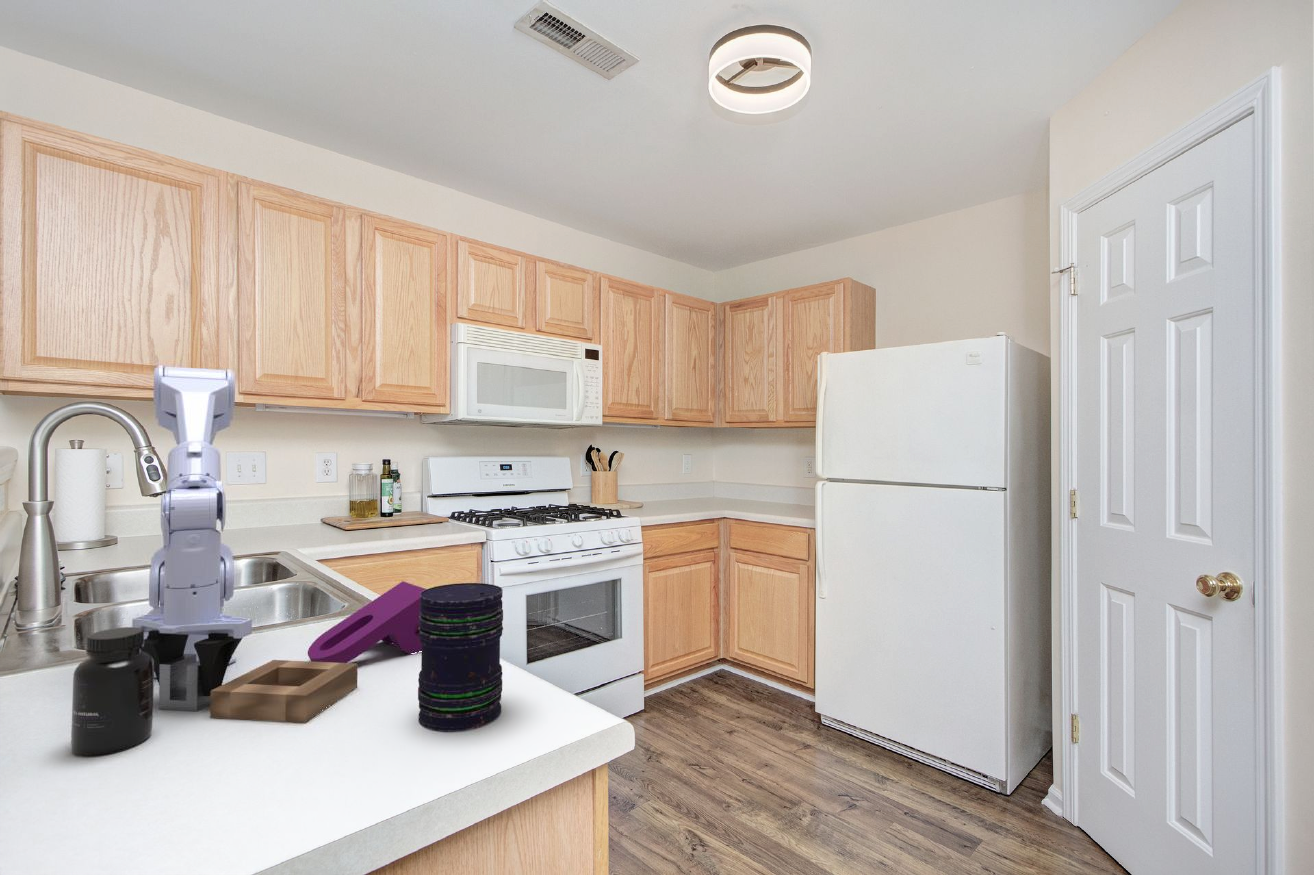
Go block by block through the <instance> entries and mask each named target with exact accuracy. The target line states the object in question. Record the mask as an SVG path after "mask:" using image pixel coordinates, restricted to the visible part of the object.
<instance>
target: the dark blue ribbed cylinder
mask: <svg viewBox="0 0 1314 875" xmlns="http://www.w3.org/2000/svg"><path fill="white" fill-rule="evenodd" d="M425 589H426V590H424V591H422V592H421V593H420V602H421V606H420V615H419V626H420V632H419V637H420V642H421V643H422V652H421V660H420V661H421V665H420V671H419V673H418V679H417V681H418V687H417V699H418V708H419V713H418V723H419V724H420V726H422V727H423V728H424V729H427V730H430V731H434V732H438V733H439V732H441V733H442V732H443V733H455V732H456V733H457V732H466V731H471V730H475V729H479V728H482V727H485V726H487V725H489V724H491V723H492V722H494V721H496V720H498V718H499V717H500V716H501V713H502V704H501V700H502V692H503V678H502V677H503V666H502V665H501V662H500V661H501V637H502V635H503V630H504V626H503V621H504V610H503V600H502V598H503V588H502V587H501V586H498V585H496V584H490V583H481V582H463V583H462V582H461V583H449V584H443V585H442V584H441V585H438V586H433V587H430V588H429V587H428V588H425Z"/></svg>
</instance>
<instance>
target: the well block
mask: <svg viewBox="0 0 1314 875" xmlns="http://www.w3.org/2000/svg"><path fill="white" fill-rule="evenodd" d="M358 666H359V664H358V663H354V662H353V663H352V662H347V663H333V662H311V660H310V661H309V660H307V661H306V660H288V659H284V660H283V659H272V660H270V661H268V662H267V663H265V664H262V665H260V666H258V667H256V668H254V669H252V670H250V671H248V672H245V673H244V674H241V675H240V676H238V677H236V678H234V679H231V680H230V681H228V682H226V683H224V684H223V683H222V685H221V686H219V687H217V688H215V689H213V690H211V700H210V705H209V706H210V707H209V708H210V710H209V711H210V716H209V718H211V719H228V720H229V719H231V720H247V721H264V722H268V721H269V722H283V723H297V724H298V723H299V724H300V723H302V724H306V723H307V722H309V721H311V720H312V719H313V718H315V717H316V716H318V715H319V714H321V713H322V712H323V711H322V710H324V709H325V708H326V707H328V706H329V705H331V704H332V703H334V702H335V703H337V702H338V701H339V699H340V700H341V699H342V697H343V698H344V697H345V696H347V695H348V694H349V692H350V693H352V692H353V691H354V690H356V689H357V688H358ZM355 688H356V689H355ZM352 690H353V691H352ZM346 694H347V695H346ZM337 700H338V701H337ZM336 701H337V702H336ZM335 703H334V704H335ZM332 705H333V704H332ZM332 705H331V706H332ZM329 707H330V706H329ZM329 707H328V708H329ZM326 709H327V708H326ZM326 709H325V710H326ZM325 710H324V711H325ZM320 712H321V713H320ZM318 713H319V714H318ZM317 714H318V715H317ZM314 716H315V717H314ZM311 718H312V719H311ZM308 720H309V721H308Z"/></svg>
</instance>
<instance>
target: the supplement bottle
mask: <svg viewBox="0 0 1314 875" xmlns="http://www.w3.org/2000/svg"><path fill="white" fill-rule="evenodd" d="M142 647H144V630H143V629H141V628H138V627H131V626H125V627H116V628H109V629H104V630H100V631H96V632H92V633H91V634H89V635H88V636H87V638H86V649H85V655H86V656H88V658H87V659H85V660H83V661H82V662H80V663H79V664H78V665H77V666H76V668H75V669H74V671H73V676H72V701H71V703H72V706H71V732H70V733H71V736H70V738H71V739H70V741H71V744H70V745H71V750H72V751H73V752H74V753H75V754H78V755H79V756H89V757H90V756H92V757H93V756H104V755H110V754H113V753H119V752H122V751H125V750H128V749H131V748H133V747H136V746H137V745H140V744H141V743H143V742H145V740H147V739H148V738H149V737H150V735H151V733H152V732H153V718H154V717H153V716H154V714H153V713H154V686H155V685H154V684H155V682H154V681H155V677H154V659H153V657H152V656H151V655H150V654H149V653H147V652H145V651H142V650H141V648H142Z"/></svg>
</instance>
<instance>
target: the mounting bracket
mask: <svg viewBox="0 0 1314 875" xmlns="http://www.w3.org/2000/svg"><path fill="white" fill-rule="evenodd" d="M426 589H427V588H424V587H422V586H419V585H415V584H414V583H413V584H412V583H409V582H406V581H401V582H399V583H398V584H396V585H394V586H393V587H391V588H390V589H388V590H387V591H386V592H384V593H383V594H381V595H380V596H378V597H377V598H375V599H373V600H372V601H370V602H369V603H367V604H366V605H364V606H363V607H361V608H360V609H358V610H357V611H355V612H354V613H351V615H349V616H347V617H346V618H344V619H343V620H341V621H340V622H338V623H337V624H335V625H334V626H332V627H331V628H329V629H328V630H326V631H325V632H323V633H322V634H321V635H319V636H318V637H317V638H316V639H315V640H314V641H313V642H312V643H311V645H310V646H309V648H308V650H307V656H308V658H309V660H310V661H311V662H333V663H350V662H351V661H352V660H354V659H356V658H358V657H359V656H361V655H362V654H363V653H364V652H367V651H368V650H369V649H371V648H372V647H373V646H375V645H376V644H377V643H379V642H380V641H381V642H382V641H383V642H384V643H386V644H389V643H393V644H392V645H393V646H395V647H396V648H397V649H399V650H401V651H402V652H405V653H407V654H410V653H415V652H419V651H422V643H421V642H420V637H419V632H420V626H419V615H420V606H421V602H420V593H421V592H422V591H424V590H426ZM410 655H411V654H410Z"/></svg>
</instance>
